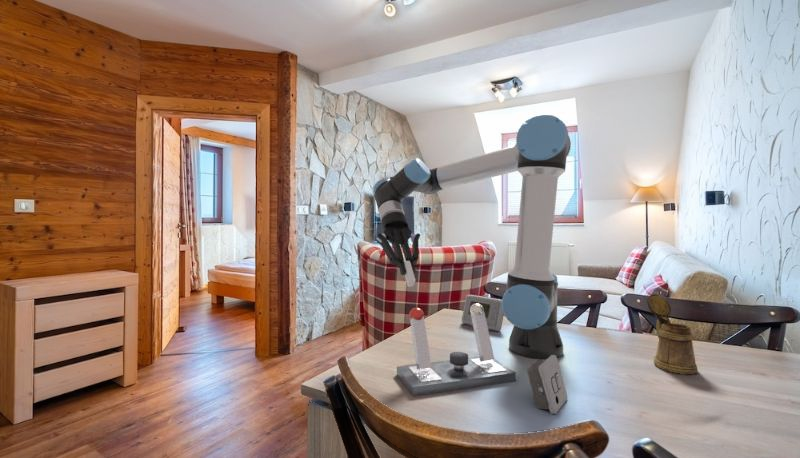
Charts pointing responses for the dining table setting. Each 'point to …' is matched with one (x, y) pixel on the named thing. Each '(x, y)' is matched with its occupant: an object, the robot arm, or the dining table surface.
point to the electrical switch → (547, 384)
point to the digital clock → (485, 311)
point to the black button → (459, 358)
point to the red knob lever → (419, 339)
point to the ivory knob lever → (481, 333)
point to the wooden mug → (672, 340)
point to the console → (454, 376)
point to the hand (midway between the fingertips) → (411, 283)
